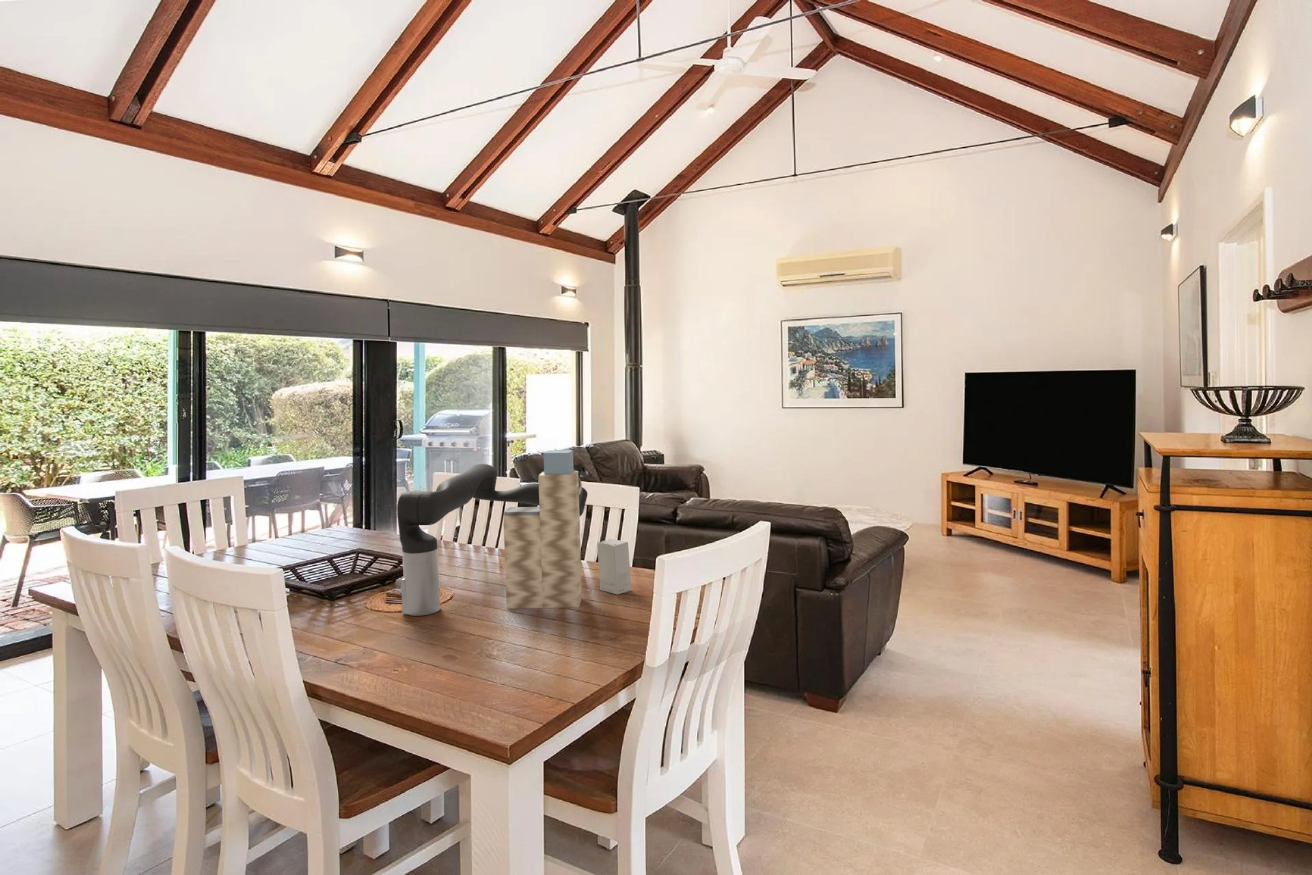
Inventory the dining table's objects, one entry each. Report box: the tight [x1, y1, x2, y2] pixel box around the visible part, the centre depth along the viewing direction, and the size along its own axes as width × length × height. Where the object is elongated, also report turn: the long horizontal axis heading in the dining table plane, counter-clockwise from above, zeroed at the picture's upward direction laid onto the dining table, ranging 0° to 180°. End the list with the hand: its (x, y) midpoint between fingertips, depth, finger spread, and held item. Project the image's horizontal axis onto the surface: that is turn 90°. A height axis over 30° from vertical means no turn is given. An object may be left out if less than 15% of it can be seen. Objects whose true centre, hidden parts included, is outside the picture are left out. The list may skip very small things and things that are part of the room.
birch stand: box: [502, 471, 583, 610], centre depth 203 cm, size 20×8×37 cm, turn 90°
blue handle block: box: [543, 449, 574, 475], centre depth 207 cm, size 7×16×6 cm, turn 178°
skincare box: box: [596, 538, 632, 595], centre depth 216 cm, size 8×6×15 cm
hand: (561, 461), depth 208 cm, fingers open, 4 cm apart
